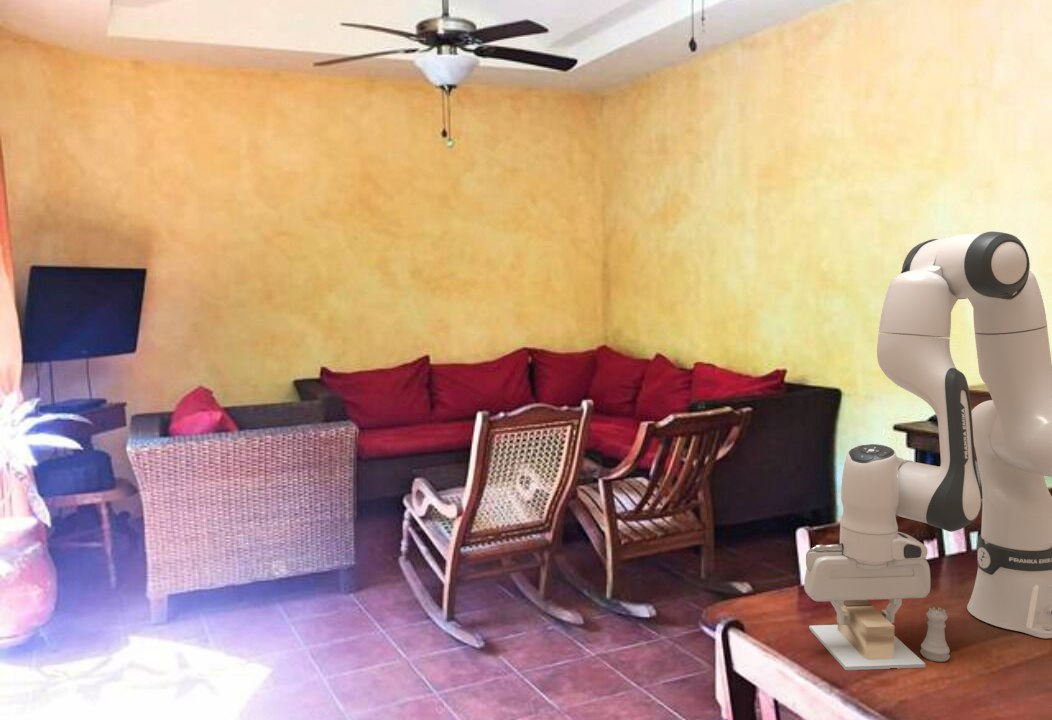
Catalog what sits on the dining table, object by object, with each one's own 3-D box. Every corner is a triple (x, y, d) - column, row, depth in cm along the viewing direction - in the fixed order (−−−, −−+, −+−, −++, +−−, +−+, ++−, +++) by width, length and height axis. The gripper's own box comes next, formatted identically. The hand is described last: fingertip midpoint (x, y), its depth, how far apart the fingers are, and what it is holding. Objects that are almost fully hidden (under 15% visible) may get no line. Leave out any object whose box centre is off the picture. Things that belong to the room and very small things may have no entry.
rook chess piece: (953, 664, 132) (956, 616, 131) (923, 661, 133) (926, 614, 132) (945, 651, 137) (947, 605, 136) (916, 649, 138) (918, 603, 137)
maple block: (893, 658, 133) (894, 625, 133) (866, 659, 133) (867, 625, 132) (862, 628, 144) (863, 597, 143) (837, 629, 144) (838, 598, 143)
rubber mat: (880, 626, 146) (881, 623, 146) (925, 667, 131) (925, 663, 131) (809, 628, 146) (809, 625, 146) (845, 670, 131) (845, 666, 131)
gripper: (813, 551, 133) (811, 633, 135) (937, 548, 134) (933, 629, 135) (799, 538, 139) (797, 616, 141) (917, 535, 140) (914, 612, 142)
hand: (865, 622), depth 138 cm, fingers open, 6 cm apart
